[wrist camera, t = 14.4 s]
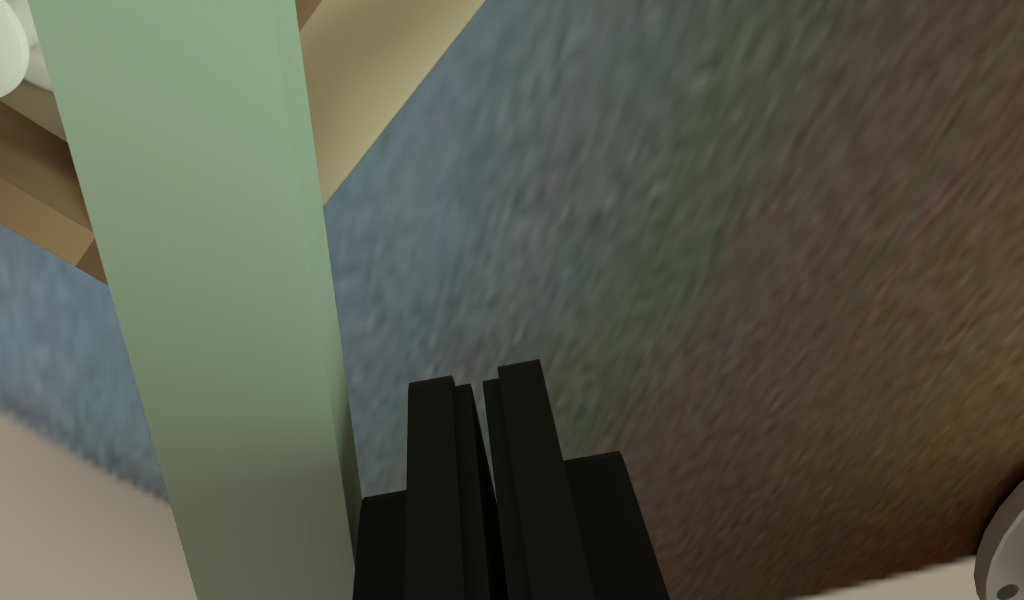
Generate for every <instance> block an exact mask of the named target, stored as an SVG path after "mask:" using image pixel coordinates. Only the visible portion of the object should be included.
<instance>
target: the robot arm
mask: <svg viewBox="0 0 1024 600" xmlns="http://www.w3.org/2000/svg"><path fill="white" fill-rule="evenodd" d="M498 375H499V378H498V379H492V380H487V381H483V389H484V397H485V406H486V414H487V423H488V431H489V439H490V448H491V456H492V464H493V473H494V481H495V490H496V498H497V502H496V498H495V493H494V488H493V484H492V479H491V474H490V470H489V465H488V461H487V456H486V451H485V447H484V442H483V437H482V433H481V428H480V423H479V419H478V414H477V410H476V405H475V400H474V396H473V391H472V387H471V384H465V385H460V386H455V383H454V380H453V377H452V375H451V376H445V377H440V378H434V379H429V380H423V381H418V382H412V383H409V388H408V437H407V490H403V491H398V492H392V493H387V494H381V495H376V496H371V497H365V498H364V499H363V501H362V502H361V508H360V516H359V528H358V539H357V551H356V562H355V574H354V586H353V597H352V600H670V599H669V596H668V593H667V590H666V587H665V584H664V580H663V577H662V574H661V571H660V568H659V565H658V562H657V559H656V556H655V553H654V550H653V547H652V544H651V541H650V538H649V535H648V532H647V529H646V526H645V523H644V520H643V517H642V514H641V511H640V508H639V505H638V502H637V499H636V496H635V493H634V490H633V487H632V484H631V481H630V478H629V475H628V471H627V468H626V465H625V463H624V460H623V457H622V455H621V453H620V452H619V451H615V452H609V453H604V454H598V455H593V456H588V457H582V458H577V459H571V460H566V461H563V458H562V454H561V449H560V445H559V441H558V437H557V432H556V428H555V424H554V419H553V415H552V411H551V406H550V402H549V398H548V394H547V389H546V385H545V381H544V376H543V372H542V368H541V364H540V360H539V359H538V360H532V361H527V362H522V363H516V364H511V365H505V366H500V367H498ZM497 506H498V507H497ZM974 579H975V584H976V591H977V595H978V597H979V599H980V600H1024V480H1023V481H1022V482H1020V483H1019V484H1018V485H1017V487H1016V488H1015V489H1014V490H1013V491H1012V493H1011V494H1010V495H1009V496H1008V497H1007V499H1006V500H1005V501H1004V502H1003V503H1002V504H1001V506H1000V507H999V508H998V510H997V512H996V513H995V515H994V517H993V518H992V520H991V522H990V523H989V525H988V527H987V528H986V530H985V532H984V535H983V538H982V540H981V543H980V546H979V549H978V551H977V554H976V562H975V571H974Z"/></svg>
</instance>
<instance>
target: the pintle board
mask: <svg viewBox="0 0 1024 600" xmlns="http://www.w3.org/2000/svg"><path fill="white" fill-rule="evenodd" d="M484 1H485V0H295V6H296V13H297V20H298V28H299V35H300V43H301V50H302V58H303V65H304V72H305V80H306V87H307V95H308V102H309V110H310V117H311V124H312V132H313V139H314V147H315V154H316V162H317V169H318V176H319V184H320V191H321V199H322V206H324V205H325V204H326V202H327V201H328V200H329V198H330V197H331V196H332V195H333V193H334V192H335V191H336V190H337V188H338V187H339V186H340V184H341V183H342V182H343V181H344V179H345V178H346V177H347V176H348V174H349V173H350V172H351V170H352V169H353V168H354V167H355V165H356V164H357V163H358V162H359V160H360V159H361V158H362V156H363V155H364V154H365V153H366V151H367V150H368V149H369V148H370V146H371V145H372V144H373V142H374V141H375V140H376V139H377V137H378V136H379V135H380V134H381V132H382V131H383V130H384V128H385V127H386V126H387V125H388V123H389V122H390V121H391V120H392V118H393V117H394V116H395V114H396V113H397V112H398V111H399V109H400V108H401V107H402V106H403V104H404V103H405V102H406V101H407V99H408V98H409V97H410V95H411V94H412V93H413V92H414V90H415V89H416V88H417V87H418V85H419V84H420V83H421V81H422V80H423V79H424V78H425V76H426V75H427V74H428V73H429V71H430V70H431V69H432V67H433V66H434V65H435V64H436V62H437V61H438V60H439V59H440V57H441V56H442V55H443V53H444V52H445V51H446V50H447V48H448V47H449V46H450V45H451V43H452V42H453V41H454V39H455V38H456V37H457V36H458V34H459V33H460V32H461V31H462V29H463V28H464V27H465V25H466V24H467V23H468V22H469V20H470V19H471V18H472V17H473V15H474V14H475V13H476V11H477V10H478V9H479V8H480V6H481V5H482V4H483V3H484ZM0 224H2V225H4V226H5V227H7V228H9V229H11V230H12V231H14V232H16V233H18V234H19V235H21V236H23V237H25V238H26V239H28V240H30V241H32V242H33V243H35V244H37V245H39V246H40V247H42V248H44V249H46V250H47V251H49V252H51V253H53V254H54V255H56V256H58V257H60V258H61V259H63V260H65V261H67V262H68V263H70V264H72V265H74V266H75V267H77V268H79V269H81V270H82V271H84V272H86V273H88V274H89V275H91V276H93V277H95V278H96V279H98V280H100V281H102V282H103V283H105V284H107V285H108V282H107V279H106V275H105V272H104V268H103V265H102V261H101V258H100V254H99V251H98V247H97V244H96V240H95V236H94V233H93V229H92V226H91V222H90V219H89V215H88V212H87V208H86V205H85V201H84V198H83V194H82V191H81V187H80V184H79V180H78V177H77V173H76V170H75V166H74V163H73V159H72V156H71V152H70V148H69V145H68V141H67V138H66V134H65V131H64V127H63V124H62V120H61V117H60V113H59V110H58V106H57V103H56V99H55V96H54V92H51V91H48V90H45V89H43V88H41V87H38V86H36V85H34V84H32V83H30V82H28V81H27V80H25V79H23V80H22V81H21V83H20V84H19V85H18V86H17V87H16V88H15V89H14V90H13V91H11V92H10V93H8V94H7V95H5V96H3V97H0Z"/></svg>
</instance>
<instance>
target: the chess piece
mask: <svg viewBox="0 0 1024 600" xmlns="http://www.w3.org/2000/svg"><path fill="white" fill-rule="evenodd" d="M23 79H25V80H27V81H28V82H30V83H32V84H34V85H36V86H38V87H41V88H43V89H45V90H48V91H51V92H53V89H52V85H51V82H50V78H49V75H48V71H47V68H46V64H45V61H44V57H43V53H42V50H41V46H40V43H39V39H38V36H37V32H36V29H35V25H34V22H33V18H32V15H31V11H30V8H29V4H28V1H27V0H0V97H3V96H5V95H7V94H8V93H10V92H11V91H13V90H14V89H15V88H16V87H17V86H18V85H19V84H20V83H21V81H22V80H23Z"/></svg>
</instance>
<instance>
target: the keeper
mask: <svg viewBox="0 0 1024 600" xmlns="http://www.w3.org/2000/svg"><path fill="white" fill-rule="evenodd" d="M27 1H28V4H29V8H30V11H31V15H32V18H33V22H34V25H35V29H36V32H37V36H38V39H39V43H40V46H41V50H42V53H43V57H44V61H45V64H46V68H47V71H48V75H49V78H50V82H51V85H52V89H53V92H54V96H55V99H56V103H57V106H58V110H59V113H60V117H61V120H62V124H63V127H64V131H65V134H66V138H67V141H68V145H69V148H70V152H71V156H72V159H73V163H74V166H75V170H76V173H77V177H78V180H79V184H80V187H81V191H82V194H83V198H84V201H85V205H86V208H87V212H88V215H89V219H90V222H91V226H92V229H93V233H94V236H95V240H96V244H97V247H98V251H99V254H100V258H101V261H102V265H103V268H104V272H105V275H106V279H107V282H108V286H109V289H110V293H111V296H112V300H113V303H114V307H115V310H116V314H117V317H118V321H119V324H120V328H121V332H122V335H123V339H124V342H125V346H126V349H127V353H128V356H129V360H130V363H131V367H132V370H133V374H134V377H135V381H136V384H137V388H138V391H139V395H140V398H141V402H142V405H143V409H144V412H145V416H146V420H147V423H148V427H149V430H150V434H151V437H152V441H153V444H154V448H155V451H156V455H157V458H158V462H159V465H160V469H161V472H162V476H163V479H164V483H165V486H166V490H167V493H168V497H169V500H170V504H171V507H172V511H173V515H174V518H175V521H176V525H177V529H178V532H179V536H180V539H181V542H182V546H183V550H184V553H185V556H186V560H187V564H188V567H189V571H190V574H191V578H192V581H193V585H194V588H195V592H196V595H197V599H198V600H352V597H353V586H354V574H355V562H356V551H357V539H358V528H359V516H360V508H361V502H362V496H361V488H360V481H359V474H358V466H357V459H356V451H355V444H354V436H353V429H352V422H351V414H350V407H349V399H348V392H347V384H346V377H345V370H344V362H343V355H342V347H341V340H340V332H339V325H338V318H337V310H336V303H335V295H334V288H333V280H332V273H331V266H330V258H329V251H328V243H327V236H326V228H325V221H324V214H323V206H322V199H321V191H320V184H319V176H318V169H317V162H316V154H315V147H314V139H313V132H312V124H311V117H310V110H309V102H308V95H307V87H306V80H305V72H304V65H303V58H302V50H301V43H300V35H299V28H298V20H297V13H296V6H295V0H27Z"/></svg>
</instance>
